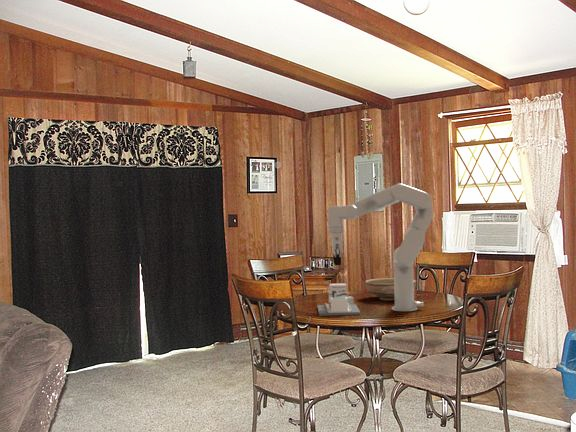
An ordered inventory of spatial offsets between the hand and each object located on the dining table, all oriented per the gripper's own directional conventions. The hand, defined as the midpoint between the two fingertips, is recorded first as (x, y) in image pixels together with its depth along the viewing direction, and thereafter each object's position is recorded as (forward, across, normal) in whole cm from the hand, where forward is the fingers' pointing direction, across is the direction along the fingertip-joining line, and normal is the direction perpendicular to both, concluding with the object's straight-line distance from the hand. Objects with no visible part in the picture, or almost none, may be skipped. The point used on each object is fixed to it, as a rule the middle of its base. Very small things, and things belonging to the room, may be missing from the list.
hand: (337, 264), depth 322 cm
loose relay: (+24, +21, -6) cm, 32 cm away
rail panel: (+24, 0, 0) cm, 24 cm away
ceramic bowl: (+24, +38, -32) cm, 55 cm away
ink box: (+22, 0, 0) cm, 22 cm away
